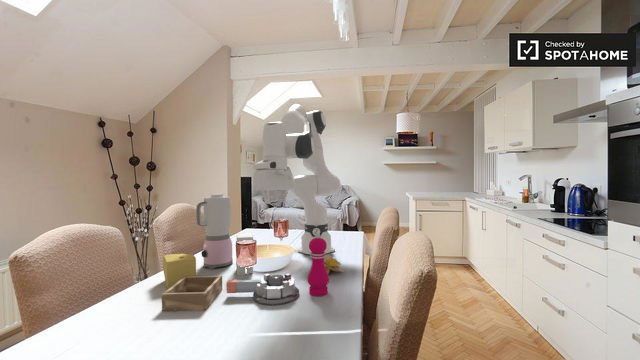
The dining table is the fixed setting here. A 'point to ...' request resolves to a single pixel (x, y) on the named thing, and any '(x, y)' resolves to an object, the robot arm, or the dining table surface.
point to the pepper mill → (318, 267)
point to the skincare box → (242, 237)
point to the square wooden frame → (192, 293)
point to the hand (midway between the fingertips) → (275, 202)
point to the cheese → (178, 267)
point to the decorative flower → (331, 264)
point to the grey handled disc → (263, 287)
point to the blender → (216, 230)
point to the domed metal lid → (276, 281)
